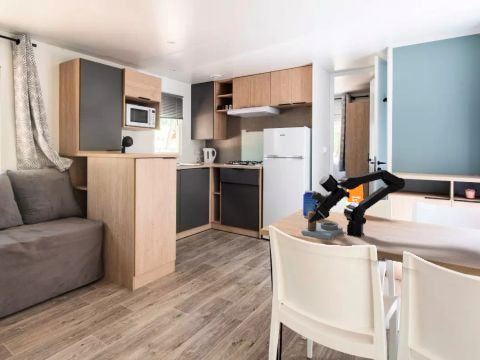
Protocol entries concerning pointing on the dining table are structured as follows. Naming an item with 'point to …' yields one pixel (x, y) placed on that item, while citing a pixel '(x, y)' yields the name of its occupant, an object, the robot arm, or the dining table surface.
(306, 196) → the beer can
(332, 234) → the slate board
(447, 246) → the dining table surface
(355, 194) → the orange juice
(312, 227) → the walnut peg
